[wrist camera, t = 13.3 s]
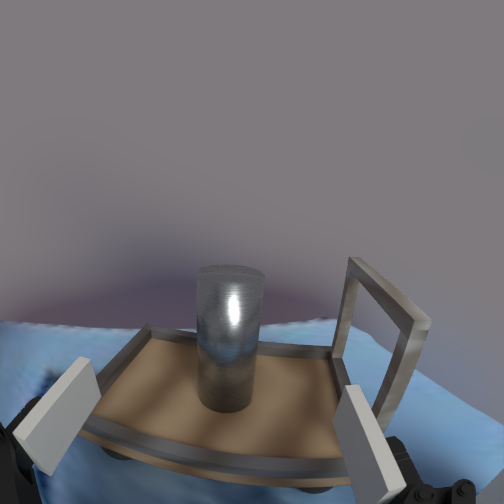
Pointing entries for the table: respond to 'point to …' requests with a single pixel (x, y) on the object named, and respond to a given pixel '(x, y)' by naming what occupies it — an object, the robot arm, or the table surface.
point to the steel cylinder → (227, 335)
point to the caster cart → (261, 407)
